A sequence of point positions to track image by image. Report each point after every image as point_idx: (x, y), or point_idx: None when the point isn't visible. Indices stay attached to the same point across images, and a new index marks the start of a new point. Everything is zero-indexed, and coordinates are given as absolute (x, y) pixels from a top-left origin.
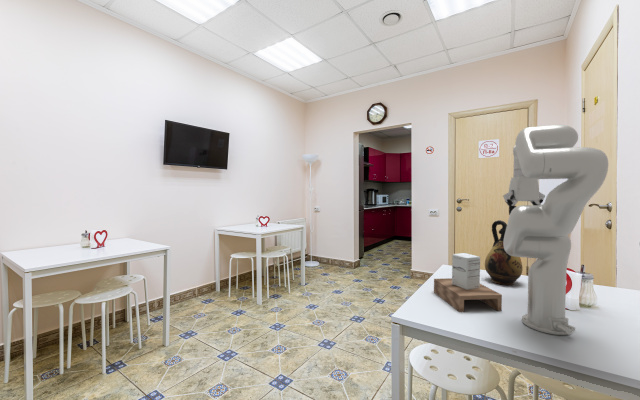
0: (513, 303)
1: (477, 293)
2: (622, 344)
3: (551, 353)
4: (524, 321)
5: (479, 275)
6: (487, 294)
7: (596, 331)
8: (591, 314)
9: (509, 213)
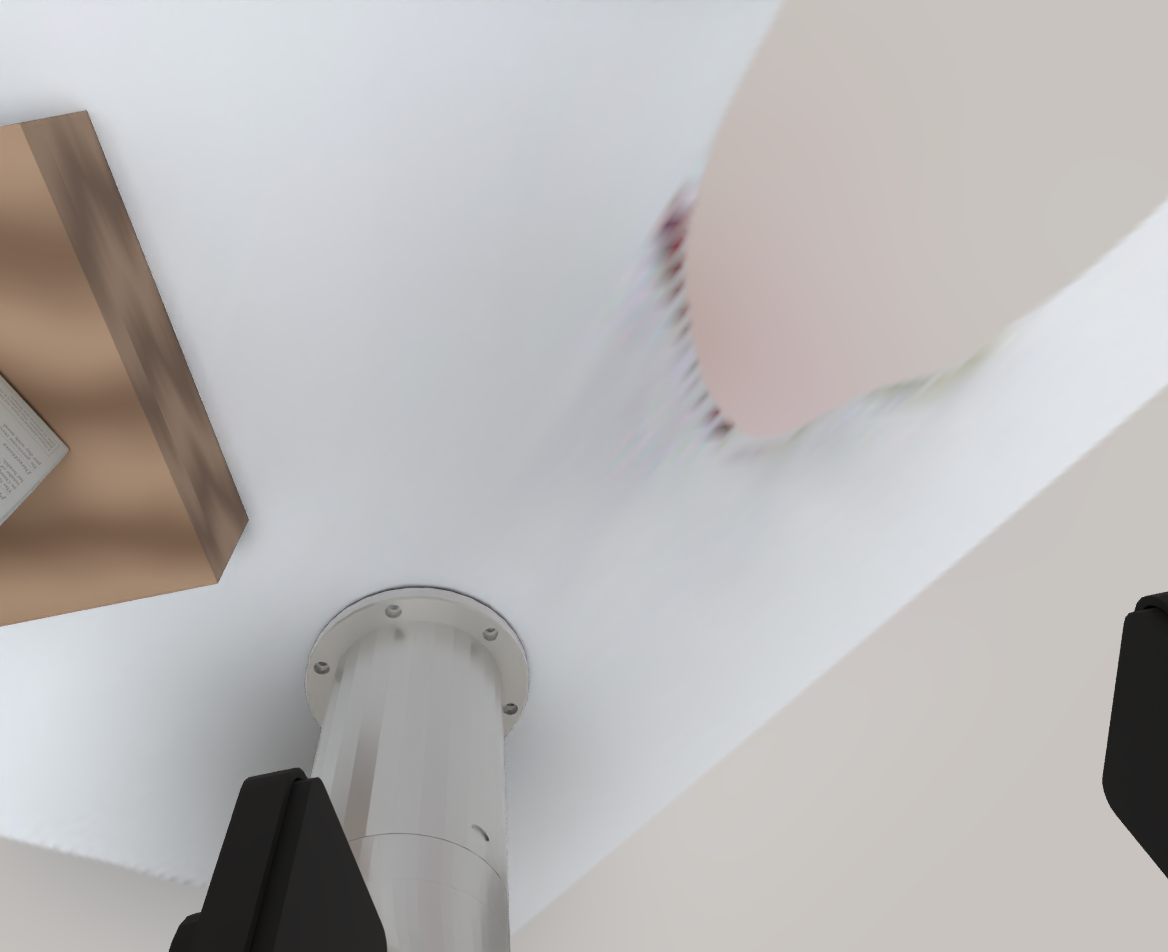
0: (399, 371)
1: (22, 587)
2: (656, 777)
3: None
4: (306, 689)
5: (10, 513)
6: (101, 595)
7: (648, 687)
8: (818, 488)
9: (240, 834)
